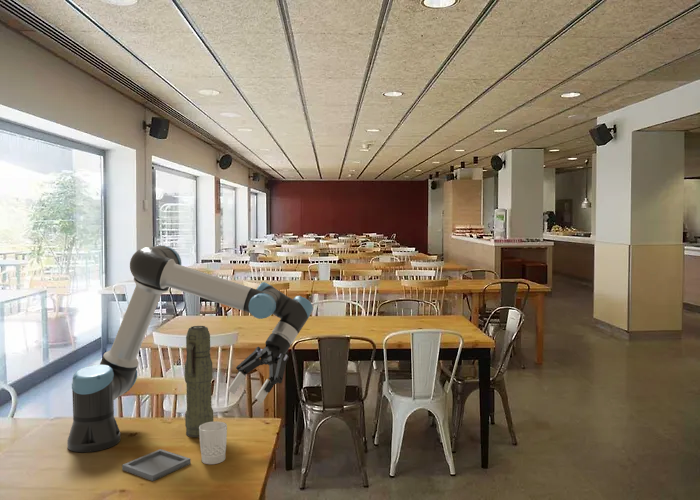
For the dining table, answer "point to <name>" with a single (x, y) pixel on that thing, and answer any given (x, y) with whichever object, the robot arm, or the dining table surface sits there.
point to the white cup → (213, 442)
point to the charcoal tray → (156, 464)
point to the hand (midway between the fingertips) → (244, 396)
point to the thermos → (198, 380)
